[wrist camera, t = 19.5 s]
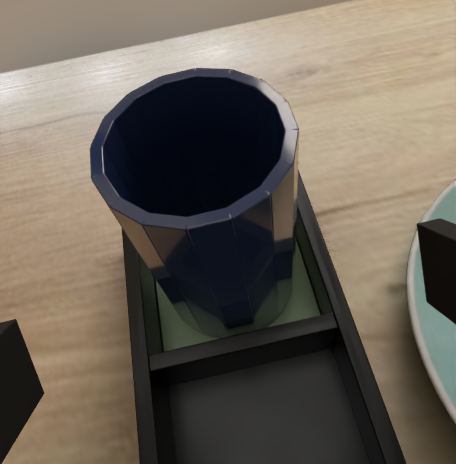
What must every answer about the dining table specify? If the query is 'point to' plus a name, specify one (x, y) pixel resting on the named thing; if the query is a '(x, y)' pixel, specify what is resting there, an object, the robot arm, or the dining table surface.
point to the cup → (206, 193)
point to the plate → (433, 313)
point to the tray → (258, 375)
